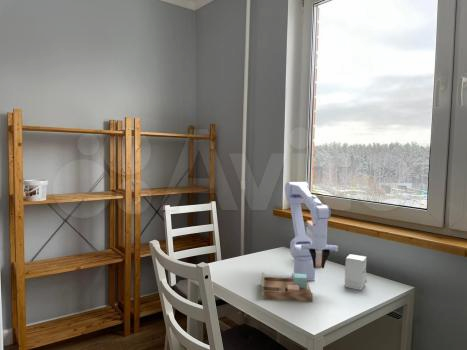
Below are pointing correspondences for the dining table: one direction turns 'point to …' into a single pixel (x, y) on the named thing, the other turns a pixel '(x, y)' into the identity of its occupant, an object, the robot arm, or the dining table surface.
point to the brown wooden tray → (283, 290)
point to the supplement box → (355, 271)
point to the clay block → (293, 288)
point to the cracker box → (309, 234)
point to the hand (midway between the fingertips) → (318, 267)
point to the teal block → (300, 280)
